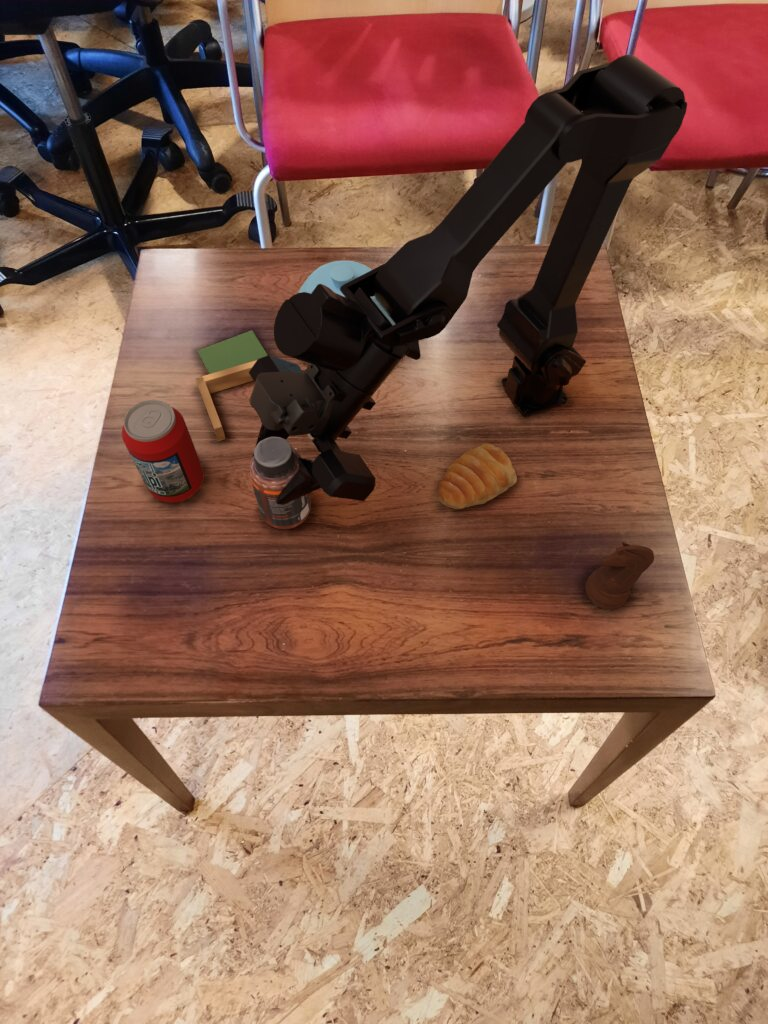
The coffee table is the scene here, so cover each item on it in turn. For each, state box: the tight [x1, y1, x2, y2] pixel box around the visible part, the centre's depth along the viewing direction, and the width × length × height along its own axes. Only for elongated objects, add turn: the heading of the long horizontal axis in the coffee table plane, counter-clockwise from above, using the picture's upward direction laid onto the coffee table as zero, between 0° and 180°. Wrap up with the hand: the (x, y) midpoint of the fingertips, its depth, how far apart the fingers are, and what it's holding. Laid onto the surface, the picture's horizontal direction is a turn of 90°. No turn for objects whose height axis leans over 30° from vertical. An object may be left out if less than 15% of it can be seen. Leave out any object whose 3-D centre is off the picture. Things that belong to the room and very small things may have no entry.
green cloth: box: [196, 329, 268, 374], centre depth 98 cm, size 8×6×1 cm
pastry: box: [437, 443, 518, 510], centre depth 86 cm, size 9×7×4 cm
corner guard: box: [195, 360, 257, 442], centre depth 93 cm, size 10×9×2 cm
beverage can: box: [121, 399, 204, 503], centre depth 82 cm, size 7×7×12 cm
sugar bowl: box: [297, 260, 395, 365], centre depth 95 cm, size 15×15×12 cm
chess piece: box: [585, 541, 655, 611], centre depth 76 cm, size 5×5×10 cm
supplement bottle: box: [248, 437, 312, 530], centre depth 81 cm, size 6×6×11 cm
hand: (267, 482), depth 80 cm, fingers closed on supplement bottle, 6 cm apart
